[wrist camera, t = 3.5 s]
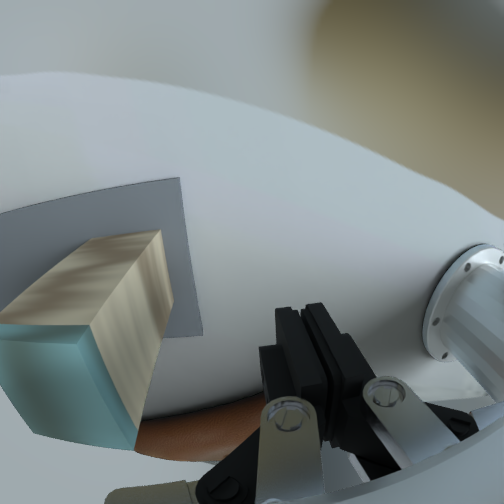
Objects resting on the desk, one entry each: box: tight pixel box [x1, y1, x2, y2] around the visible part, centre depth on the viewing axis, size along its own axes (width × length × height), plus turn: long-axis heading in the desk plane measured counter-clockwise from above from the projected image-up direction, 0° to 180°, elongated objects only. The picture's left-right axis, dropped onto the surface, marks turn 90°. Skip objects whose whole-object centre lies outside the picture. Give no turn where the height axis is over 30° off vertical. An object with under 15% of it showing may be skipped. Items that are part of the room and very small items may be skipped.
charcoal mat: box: [0, 177, 203, 338], centre depth 19 cm, size 20×11×1 cm, turn 94°
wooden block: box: [0, 229, 174, 451], centre depth 13 cm, size 5×5×12 cm
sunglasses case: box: [134, 392, 266, 462], centre depth 24 cm, size 18×7×7 cm
